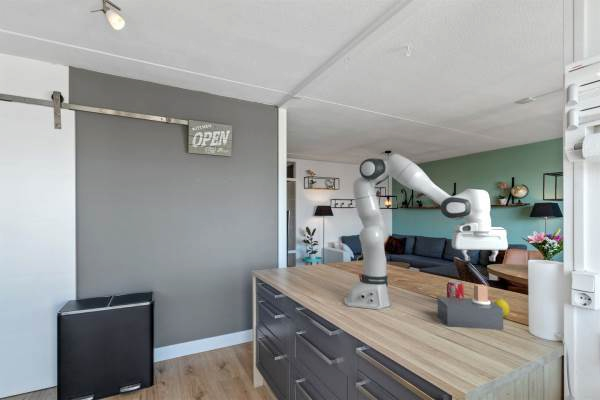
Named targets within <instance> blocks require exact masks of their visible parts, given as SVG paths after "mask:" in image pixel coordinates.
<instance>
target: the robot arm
mask: <svg viewBox="0 0 600 400" xmlns="http://www.w3.org/2000/svg"><path fill="white" fill-rule="evenodd" d="M359 174H360V177H358V178H356V179H355V180H354V181H353V184H352V191H353V199H354V203H355V206H356V212H357V215H358V218H359V219H360V222H361V223H362V225H363V228H362V229H361V230H360V232H359V235H358V236H359V241H360V245H361V246H360V247H361V250H362V251H361V252H362V256H363V258H362V259H363V273H358V278H359V281H358V282H357V283H356V284H354V285H353V286H351V287H350V289H349V291H348V295H347V296H345V297H344V299H343V303H344V305H346V306H347V307H354V308H355V307H356V308H363V309H370V310H382V309H383V308H388V307H390V306H391V301H390V296H389V291H388V286H389V278H388V275H387V271H388V269H387V257H386V253H385V252H386V251H385V243H387V241H388V239H389V231H388V229H387V226H386V222H385V220H384V218H383V214H382V212H381V209H380V205H379V200H378V198H377V193H376V188H375V187H376V186H379V185H380V184H381V183H382V182H384V181H386V180H387V179H388V178H389V177H392V178H393V179H394V180H395V181H396V182H398V183H399V184H401V185H402V186H404V187H406V188H408V189H411V190H413V191H415V192H419V193H421V194H423V195H425V196H427V197H428V198H430V199H431V200H432V201H433V202H435V204H437V205H439V206H440V211H441V213H442V215H443V216H445V217H446V218H447V219H452V220H456V221H457V220H461V219H464V218H465V222H463V223H460V224H457V225H454V226H453V231H454V232H453V233H452V235H451V248H453V249H455V250H461V253H462V255H463V256H464V261H471V256H470V255H468V254H467V253H468V250H471V251H473V250H474V251H475V250H476V251H479V250H480V251H482V250H483V251H491V252H492V253H491V255H490V256H488V258H489V259H488V260H489V261H490V262H496V257H497V255H498V254H499V251H507V250H508V248H509V243H508V238H507V229H505V228H503V227H502V226H497V227H496V226H492V218H491V215H490V213H491V199H490V194H489V193H488V191H487V190H485V189H483V188H477V187H475V188H474V187H469V188H466V189H465V190H464V191H462V192H460V193H458V194H455V195H453V196H452V195H450V194H449V193H447V192H446V191H444V190H443V189H442V188H440V187H439V186H437V185H436V184H435V183H434V182H433V181H432V180H431V178H430V177H429V176H428V175H427V174H426V173H425V172H424V170H423V169H422V168H421V167H419V166H418V165H417V164H416V163H414V162H413V161H412V160H410V159H408V158H407V157H405V156H402V154H401V155H400V154H398V153H393V154H390V155H389V156H388V157H387V158H386V159H382V158H381V159H380V158H374V157H373V158H372V157H371V158H366V159H364V160H363V161H362V162H361V163H360V165H359Z"/></svg>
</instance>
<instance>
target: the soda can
mask: <svg viewBox="0 0 600 400" xmlns="http://www.w3.org/2000/svg"><path fill="white" fill-rule="evenodd" d="M464 292H465V291H464V285H463V283H462V281H460V280H453V279H451V280H450V279H449V280H448V281H447V283H446V297H449V298H465V294H464Z"/></svg>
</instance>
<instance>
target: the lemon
mask: <svg viewBox="0 0 600 400" xmlns="http://www.w3.org/2000/svg"><path fill="white" fill-rule="evenodd" d="M493 303H494V304H496V305H498V306H499V307H501V308H503V319H504V318H506V317H508V316H509V314H510V313H511V312H510V306H509V304H508V302H507V301H505V300H503V299H502V298H499V299H497V300H495V302H493Z"/></svg>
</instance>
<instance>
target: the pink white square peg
mask: <svg viewBox="0 0 600 400" xmlns="http://www.w3.org/2000/svg"><path fill="white" fill-rule="evenodd" d="M488 290H489V289H488V286H486V285H484V284H473V298H472V303H474V304H477V305H485V306H487V305H491V304H490V301H491V300H489V294H488V293H489V291H488Z"/></svg>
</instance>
